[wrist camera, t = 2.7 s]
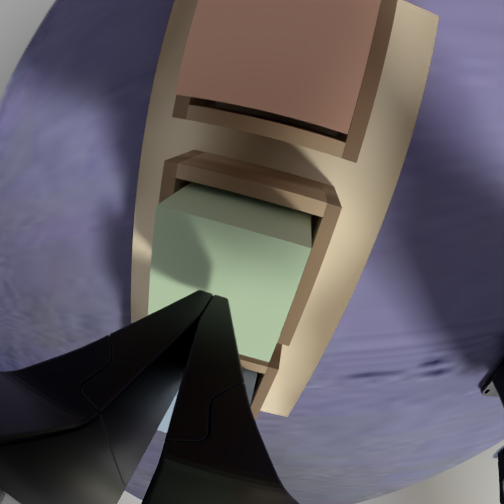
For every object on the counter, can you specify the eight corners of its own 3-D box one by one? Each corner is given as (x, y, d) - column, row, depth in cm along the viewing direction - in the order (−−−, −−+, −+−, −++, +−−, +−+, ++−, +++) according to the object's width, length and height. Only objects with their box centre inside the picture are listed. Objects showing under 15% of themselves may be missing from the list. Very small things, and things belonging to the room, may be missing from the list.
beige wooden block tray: (423, 26, 10) (469, -3, 5) (289, 395, 21) (282, 453, 16) (201, -25, 10) (160, -68, 6) (144, 350, 21) (113, 399, 17)
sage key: (310, 213, 11) (311, 248, 8) (277, 311, 13) (269, 361, 10) (192, 181, 11) (156, 205, 8) (177, 281, 13) (147, 324, 10)
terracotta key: (365, 15, 8) (384, -17, 5) (335, 129, 10) (347, 134, 7) (238, -12, 8) (214, -48, 5) (208, 98, 10) (174, 94, 7)
